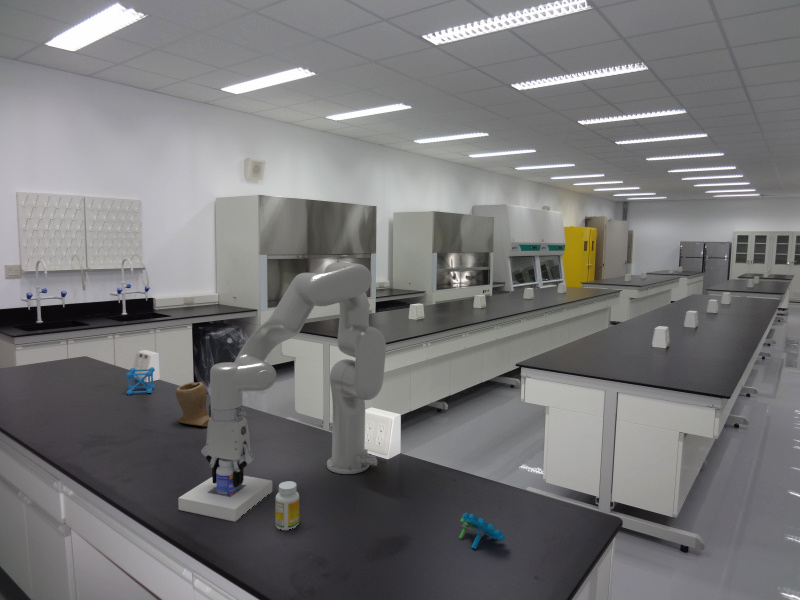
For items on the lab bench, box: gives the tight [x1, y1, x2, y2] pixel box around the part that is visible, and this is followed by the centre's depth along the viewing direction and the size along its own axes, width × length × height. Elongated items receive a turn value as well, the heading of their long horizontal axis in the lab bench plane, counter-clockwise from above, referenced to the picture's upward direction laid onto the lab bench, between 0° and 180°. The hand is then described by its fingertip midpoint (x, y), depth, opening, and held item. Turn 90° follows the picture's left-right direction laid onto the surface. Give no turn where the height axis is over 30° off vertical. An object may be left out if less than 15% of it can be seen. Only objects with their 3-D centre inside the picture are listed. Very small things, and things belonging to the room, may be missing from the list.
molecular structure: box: [125, 366, 156, 396], centre depth 223 cm, size 10×10×10 cm
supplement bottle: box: [274, 480, 300, 531], centre depth 118 cm, size 5×5×10 cm
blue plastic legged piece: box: [458, 511, 506, 550], centre depth 112 cm, size 11×6×10 cm
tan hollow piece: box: [175, 381, 210, 427], centre depth 184 cm, size 15×12×15 cm
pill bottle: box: [216, 458, 239, 497], centre depth 129 cm, size 5×5×10 cm
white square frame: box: [177, 475, 273, 523], centre depth 129 cm, size 16×16×3 cm
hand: (227, 482), depth 129 cm, fingers closed on pill bottle, 5 cm apart
